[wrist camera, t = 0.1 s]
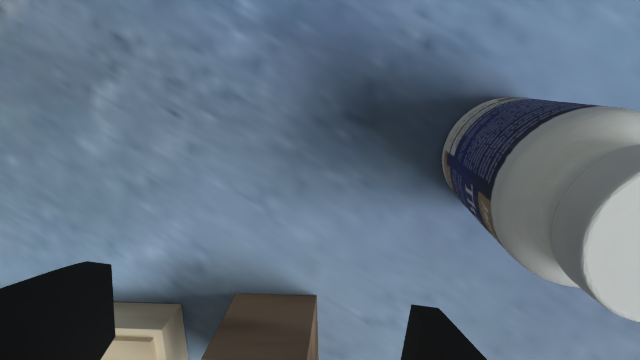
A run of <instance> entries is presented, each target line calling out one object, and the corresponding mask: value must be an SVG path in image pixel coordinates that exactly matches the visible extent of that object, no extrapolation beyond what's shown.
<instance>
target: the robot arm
mask: <svg viewBox="0 0 640 360" xmlns="http://www.w3.org/2000/svg"><path fill="white" fill-rule="evenodd" d="M115 337H116V335H115V319H114V303H113V286H112V270H111V264H103V263H96V262H88V261H86V262H82V263H78V264H74V265H71V266H67V267H64V268H60V269H57V270H54V271H51V272H48V273H45V274H42V275H39V276H36V277H33V278H30V279H27V280H24V281H21V282H18V283H15V284H12V285H9V286H6V287H4V288H1V289H0V360H101V358H102V357H103V355H104V354H105V352H106V351H107V349H108V347H109V346H110V344H111V343H112V341H113V340H114V338H115ZM401 360H487V359H486V358H485V357H484V356H483V355H482V354H481V353H480V352H479V351H478V350H477V349H476V348H475V346H474V345H473V344H472V343H471V342H470V341H469V340H468V339H467V338H466V337H465V336H464V335H463V334H462V332H461V331H460V330H459V329H458V328H457V327H456V326H455V325H454V324H453V323H452V322H451V321H450V320H449V319H448V317H447V316H446V315H445V314H444V313H443V312H442V311H441V310H440V309H439V308H434V307H426V306H419V305H411V310H410V315H409V320H408V325H407V331H406V336H405V341H404V346H403V351H402V357H401Z"/></svg>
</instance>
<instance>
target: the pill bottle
mask: <svg viewBox="0 0 640 360" xmlns="http://www.w3.org/2000/svg"><path fill="white" fill-rule="evenodd" d="M442 166H443V172H444V175H445V179H446V181H447V183H448V185H449V187H450V188H451V190H452V191H453V192H454V194H455V195H456V196H457V197H458V199H459V200H460V201H461V202H462V203H463V204H464V205H465V206H466V207H467V208H468V209H469V211H470V212H471V213H472V214H473V215H474V216H475V217H476V218H477V220H478V221H479V222H480V223H481V224H482V225H483V226H484V227H485V228H486V229H487V230H488V231H489V232H490V233H491V235H492V236H493V237H494V238H495V239H496V240H497V241H498V242H499V243H500V244H501V245H502V246H503V247H504V248H505V250H506V251H507V252H508V253H509V254H510V255H511V256H512V257H513V258H514V259H515V260H516V261H518V262H519V263H520V264H521V265H522V266H524V267H525V268H526V269H527V270H529V271H530V272H532V273H534V274H535V275H537V276H539V277H541V278H543V279H546V280H548V281H551V282H554V283H557V284H560V285H564V286H571V287H579V288H582V289H583V290H584V291H585V292H586V293H588V294H589V295H590V296H591V297H592V298H594V299H595V300H596V301H597V302H599V303H600V304H601V305H602V306H604V307H605V308H607V309H609V310H610V311H612V312H614V313H616V314H617V315H619V316H622V317H624V318H627V319H630V320H633V321H637V322H640V112H637V111H633V110H628V109H623V108H618V107H608V106H597V105H586V104H577V103H567V102H557V101H547V100H539V99H530V98H516V97H507V98H498V99H493V100H490V101H487V102H484V103H482V104H480V105H478V106H476V107H474V108H473V109H471V110H470V111H469V112H467V113H466V114H465V115H464V116H462V117H461V119H460V120H459V121H458V122H457V123H456V124H455V125H454V127H453V128H452V130H451V131H450V133H449V135H448V137H447V140H446V142H445V145H444V148H443V154H442Z"/></svg>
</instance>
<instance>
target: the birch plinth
mask: <svg viewBox="0 0 640 360" xmlns="http://www.w3.org/2000/svg"><path fill="white" fill-rule="evenodd" d="M113 303H114V319H115V335H116V337H115V338H114V340H113V341H112V343H111V344H110V346H109V347H108V349H107V351H106V352H105V354H104V355H103V357H102V358H101V360H189V358H188V351H187V344H186V337H185V330H184V322H183V315H182V308H181V304H157V303H123V302H113Z"/></svg>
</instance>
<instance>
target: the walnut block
mask: <svg viewBox="0 0 640 360" xmlns="http://www.w3.org/2000/svg"><path fill="white" fill-rule="evenodd" d="M201 360H318V328H317V296H313V295H275V294H236V295H235V296H234V298H233V300H232V302H231V304H230V306H229V308H228V310H227V312H226V313H225V315H224V317H223V319H222V321H221V323H220V325H219V327H218V329H217V330H216V332H215V334H214V336H213V338H212V340H211V342H210V344H209V345H208V347H207V349H206V351H205V353H204V355H203V357H202V359H201Z"/></svg>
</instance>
